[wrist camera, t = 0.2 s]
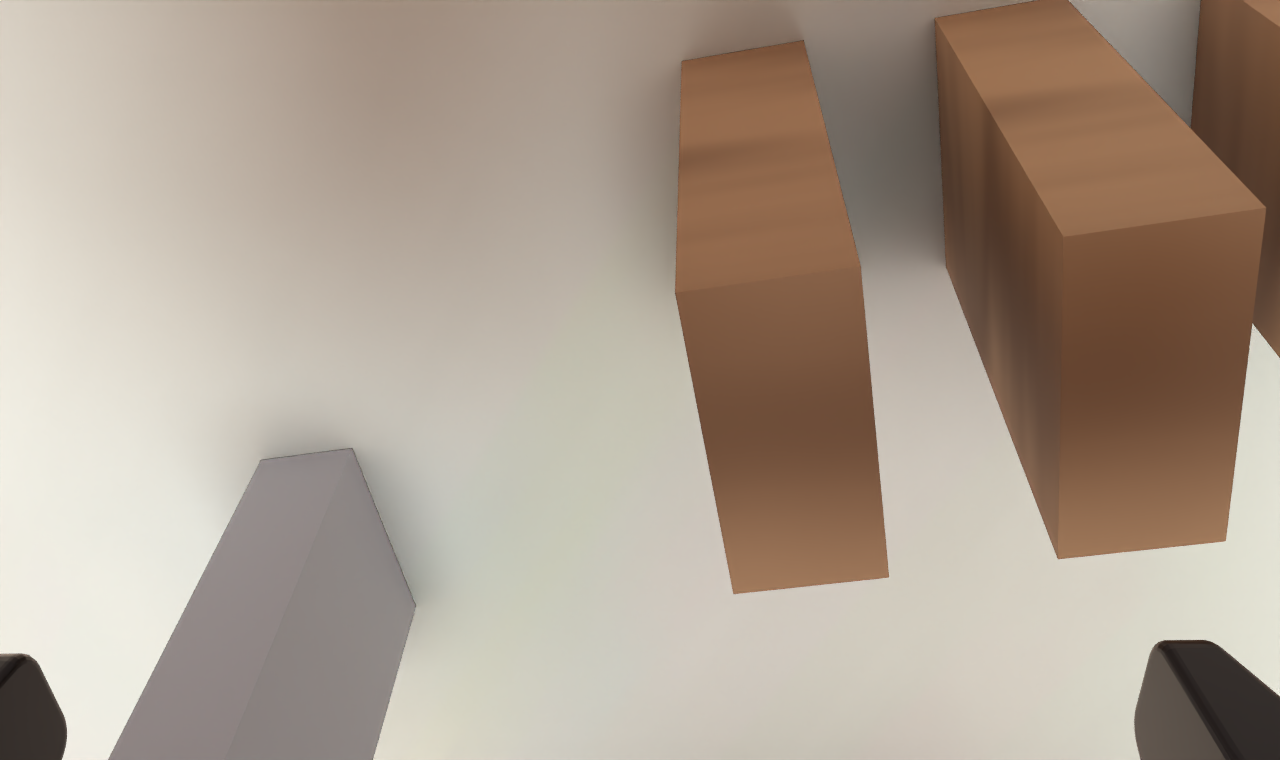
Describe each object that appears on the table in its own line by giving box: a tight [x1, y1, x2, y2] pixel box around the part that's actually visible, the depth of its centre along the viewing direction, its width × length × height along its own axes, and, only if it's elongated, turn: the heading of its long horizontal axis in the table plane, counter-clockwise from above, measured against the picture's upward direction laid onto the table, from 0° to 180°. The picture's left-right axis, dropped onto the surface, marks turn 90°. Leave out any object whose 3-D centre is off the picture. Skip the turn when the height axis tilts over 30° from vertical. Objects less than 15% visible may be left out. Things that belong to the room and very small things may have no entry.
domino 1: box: [675, 40, 889, 594], centre depth 19 cm, size 5×2×8 cm, turn 11°
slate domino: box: [108, 448, 416, 760], centre depth 24 cm, size 5×2×8 cm, turn 11°
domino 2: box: [935, 0, 1266, 559], centre depth 18 cm, size 5×2×8 cm, turn 11°
